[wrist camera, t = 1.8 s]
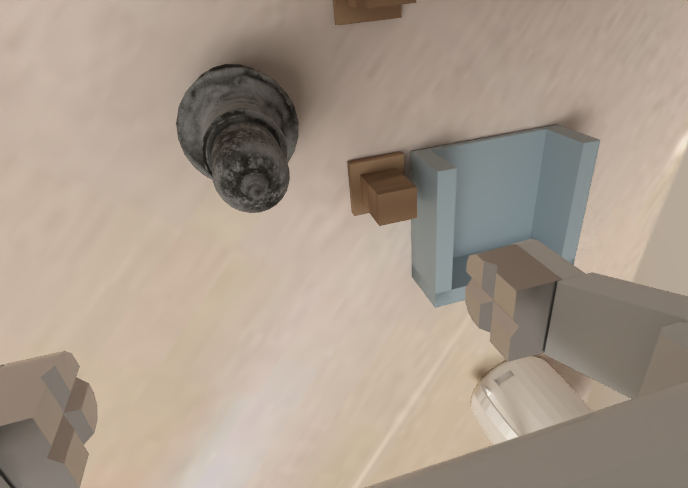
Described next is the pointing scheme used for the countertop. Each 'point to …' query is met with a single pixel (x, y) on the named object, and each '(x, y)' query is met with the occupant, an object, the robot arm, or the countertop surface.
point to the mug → (523, 399)
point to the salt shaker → (239, 135)
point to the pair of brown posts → (385, 170)
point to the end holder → (496, 201)
